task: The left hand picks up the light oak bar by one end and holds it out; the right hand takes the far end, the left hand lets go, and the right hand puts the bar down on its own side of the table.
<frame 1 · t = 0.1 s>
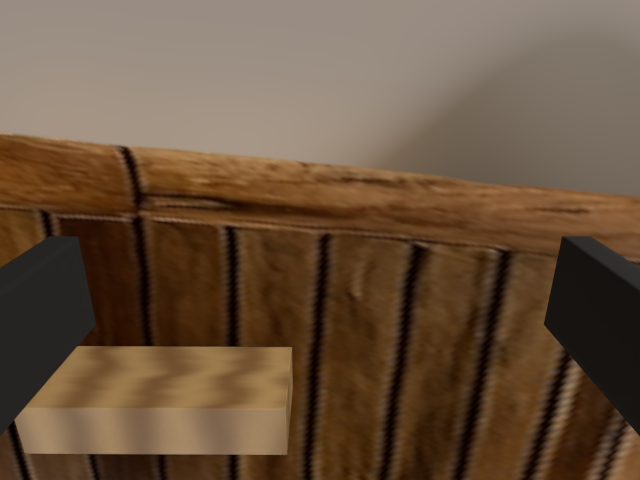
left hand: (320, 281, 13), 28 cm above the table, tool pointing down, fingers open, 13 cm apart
bar: (181, 366, 47), on the table
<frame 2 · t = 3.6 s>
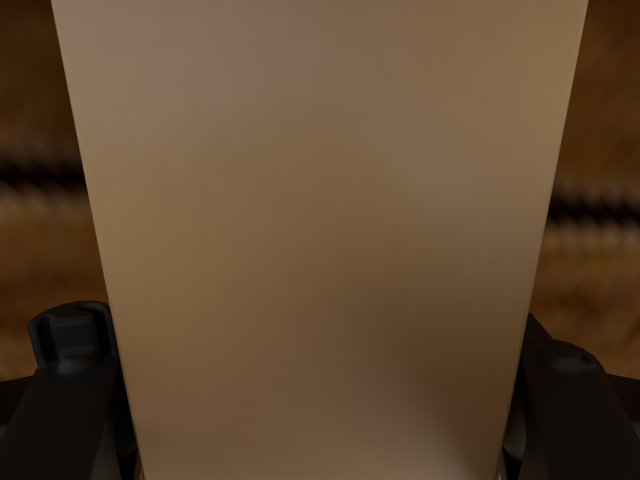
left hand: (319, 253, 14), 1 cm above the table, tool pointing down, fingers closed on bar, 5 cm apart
bar: (319, 5, 12), on the table, touching left hand
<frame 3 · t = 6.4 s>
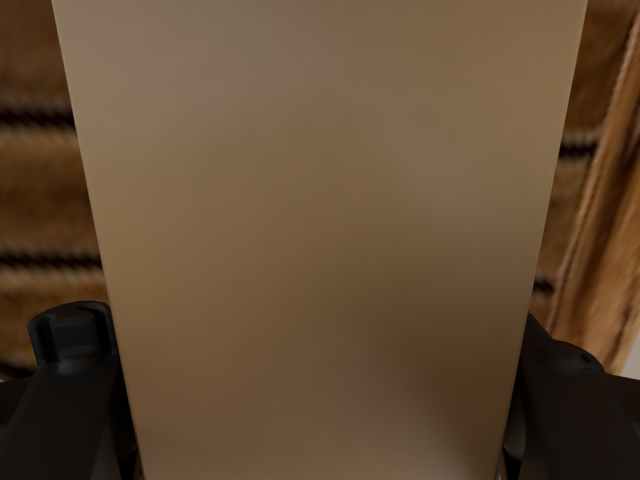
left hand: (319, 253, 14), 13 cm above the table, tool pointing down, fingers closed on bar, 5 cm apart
bar: (319, 4, 12), point 12 cm above the table, touching left hand
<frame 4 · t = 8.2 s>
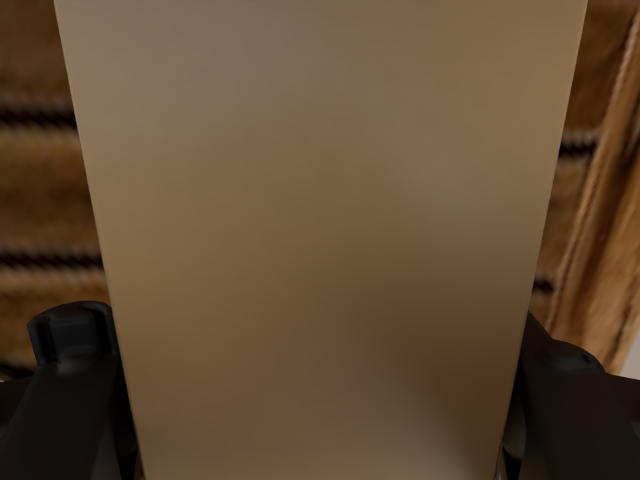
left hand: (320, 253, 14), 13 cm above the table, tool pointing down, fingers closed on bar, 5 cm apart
bar: (320, 4, 12), point 12 cm above the table, touching left hand, right hand
when the left hand's fingers open (13 cm above the table, at t = 9.1 s): bar stays where it is, held by the right hand.
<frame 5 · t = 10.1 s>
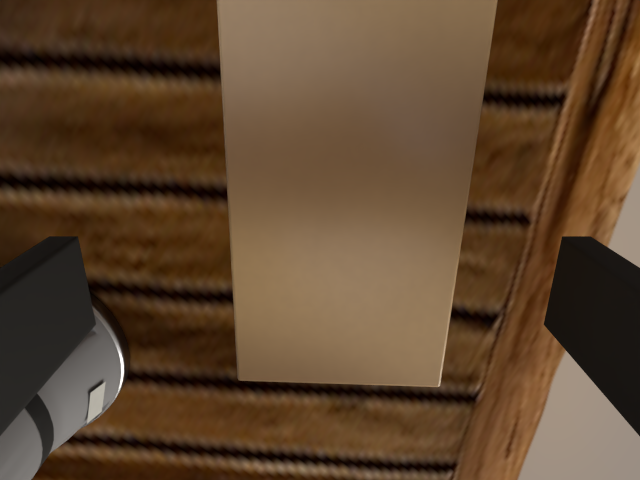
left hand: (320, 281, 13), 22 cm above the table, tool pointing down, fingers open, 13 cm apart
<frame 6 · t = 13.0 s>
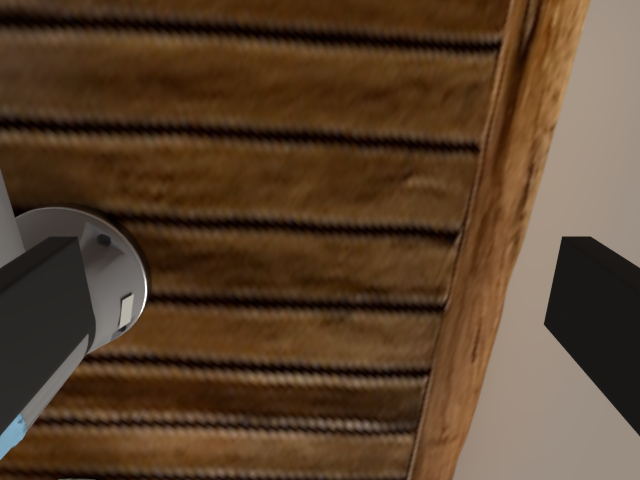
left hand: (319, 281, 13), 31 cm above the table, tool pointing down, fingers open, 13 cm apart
when the right hand's fingers open (4 cm above the table, at t = 17.7 s): bar drops 1 cm, on the table.
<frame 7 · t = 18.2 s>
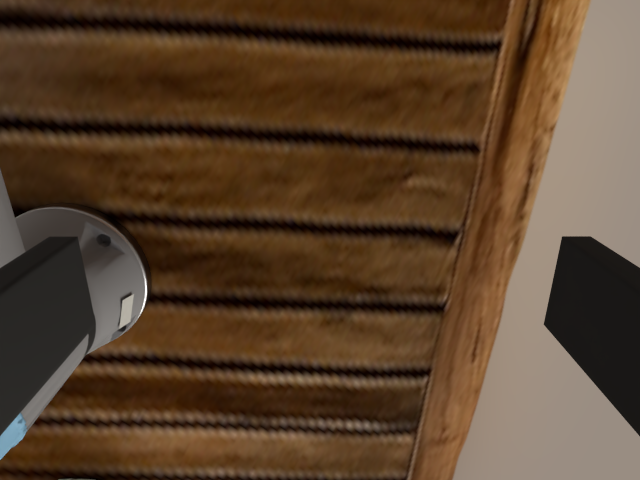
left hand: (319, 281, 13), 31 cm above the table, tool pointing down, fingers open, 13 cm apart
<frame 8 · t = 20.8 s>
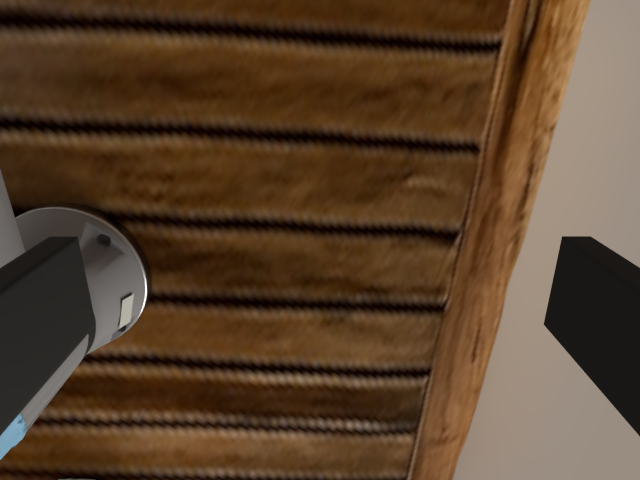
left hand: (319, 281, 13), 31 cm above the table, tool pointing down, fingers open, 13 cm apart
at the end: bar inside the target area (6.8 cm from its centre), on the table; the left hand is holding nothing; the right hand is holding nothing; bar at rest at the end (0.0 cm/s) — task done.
